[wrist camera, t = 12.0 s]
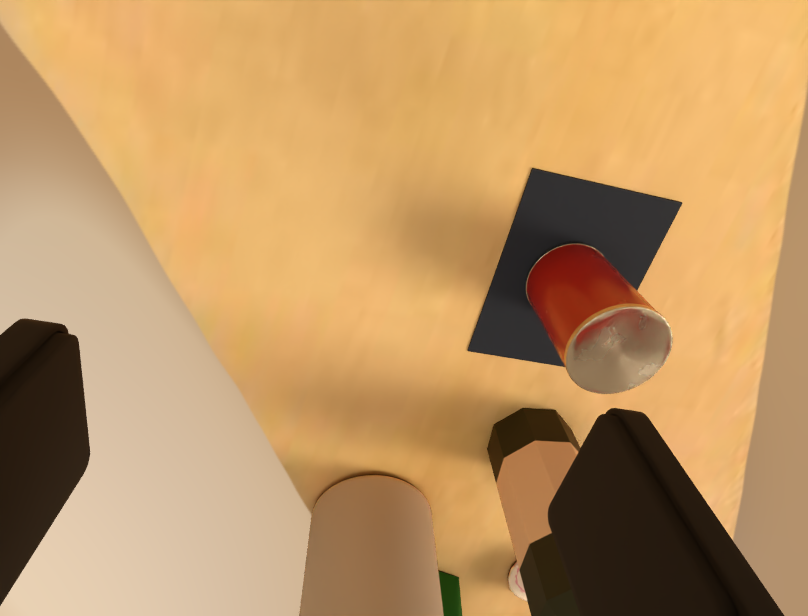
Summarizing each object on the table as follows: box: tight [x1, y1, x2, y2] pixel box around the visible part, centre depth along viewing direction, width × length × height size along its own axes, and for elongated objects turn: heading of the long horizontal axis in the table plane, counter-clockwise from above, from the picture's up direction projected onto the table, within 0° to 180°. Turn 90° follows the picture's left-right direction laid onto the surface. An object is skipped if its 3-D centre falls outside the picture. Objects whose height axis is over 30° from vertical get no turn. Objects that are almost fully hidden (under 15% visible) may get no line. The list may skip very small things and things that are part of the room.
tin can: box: [525, 242, 673, 394], centre depth 36 cm, size 7×7×10 cm
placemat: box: [468, 168, 682, 367], centre depth 40 cm, size 16×12×1 cm
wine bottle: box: [487, 408, 581, 616], centre depth 36 cm, size 8×8×30 cm
